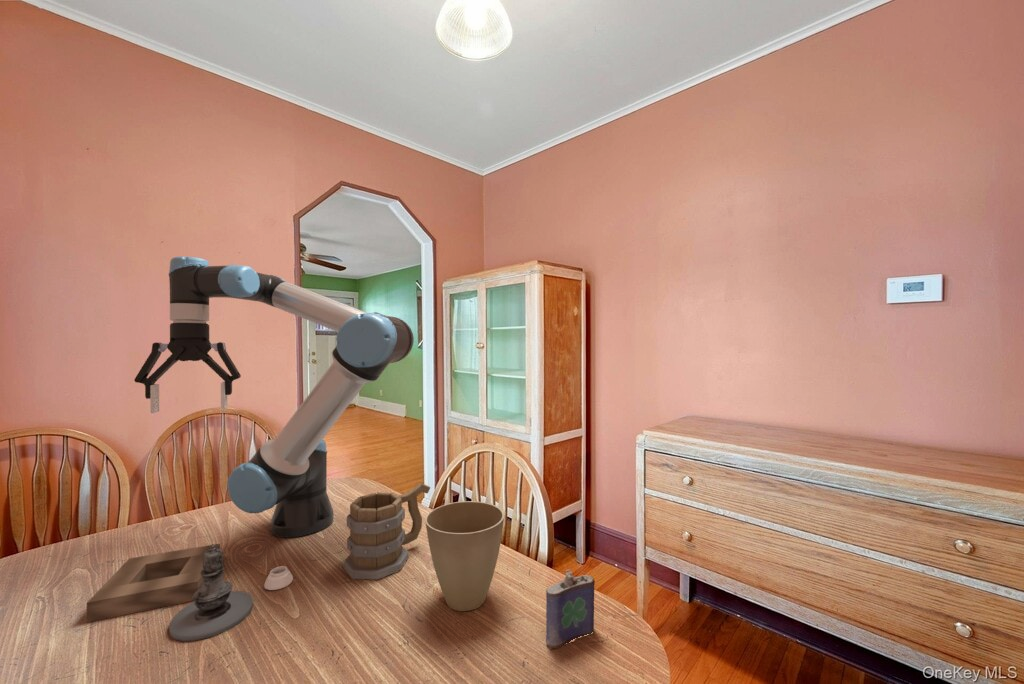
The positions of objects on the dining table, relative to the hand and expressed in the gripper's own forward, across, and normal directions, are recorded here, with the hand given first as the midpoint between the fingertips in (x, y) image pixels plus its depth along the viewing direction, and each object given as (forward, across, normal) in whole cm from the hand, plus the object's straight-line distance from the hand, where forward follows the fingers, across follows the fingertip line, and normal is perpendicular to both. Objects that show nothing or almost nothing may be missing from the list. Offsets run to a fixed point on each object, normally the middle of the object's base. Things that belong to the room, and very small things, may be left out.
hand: (190, 410), depth 99 cm
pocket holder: (+33, 0, +18) cm, 37 cm away
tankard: (+33, -44, +25) cm, 60 cm away
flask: (+33, -68, +63) cm, 98 cm away
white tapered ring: (+33, -22, +26) cm, 47 cm away
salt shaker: (+32, -12, +33) cm, 47 cm away
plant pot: (+33, -55, +46) cm, 79 cm away
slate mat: (+33, -12, +33) cm, 48 cm away
